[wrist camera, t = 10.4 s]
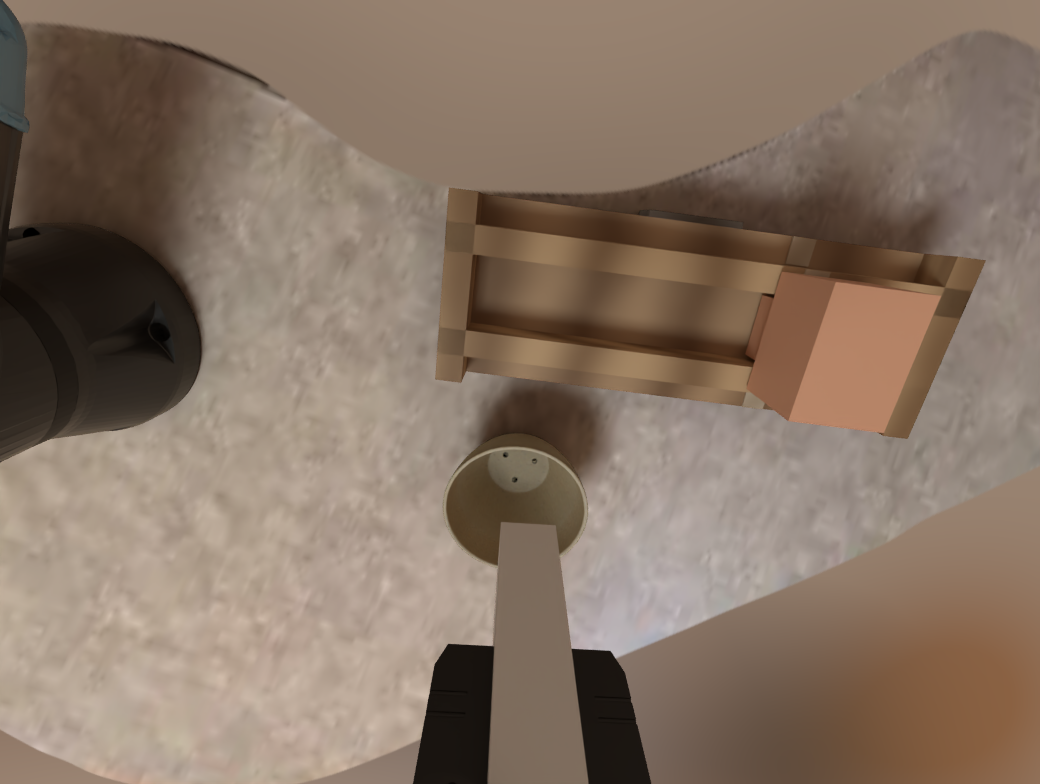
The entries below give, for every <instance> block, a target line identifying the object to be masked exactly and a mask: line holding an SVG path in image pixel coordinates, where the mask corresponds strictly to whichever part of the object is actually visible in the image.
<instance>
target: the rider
mask: <svg viewBox="0 0 1040 784" xmlns="http://www.w3.org/2000/svg"><path fill="white" fill-rule="evenodd" d="M940 298H941V296H938V295H933V294H927V293H921V292H916V291H910V290H905V289H899V288H893V287H888V286H882V285H877V284H871V283H864V282H857V281H849V280H842V279H834V278H827V277H819V276H812V275H805V274H797V273H790V272H782V273H781V276H780V279H779V283H778V286H777V289H776V293H775V296H774V297H773V296H765V295H762V299H761V302H760V305H759V309H758V312H757V316H756V319H755V322H754V326H753V329H752V333H751V336H750V339H749V343H748V346H747V350H746V353H745V355H747V356H749V357H750V358H752V359H754V360H755V362H754V365H753V369H752V372H751V375H750V379H749V382H748V385H747V388H746V389H747V390H749V391H750V392H751V393H752V394H754V395H755V396H756V397H758V398H759V399H760V400H762V401H763V402H764V403H766V404H767V405H768V406H769V407H771V408H772V409H773V410H775V411H776V412H777V413H779V414H780V415H781V416H782V417H784V418H785V419H786V420H788V421H792V422H800V423H808V424H816V425H824V426H832V427H840V428H848V429H856V430H864V431H872V432H880V433H884V432H885V429H886V427H887V424H888V422H889V420H890V417H891V415H892V413H893V410H894V408H895V405H896V403H897V401H898V398H899V396H900V393H901V391H902V389H903V386H904V384H905V381H906V379H907V377H908V374H909V372H910V369H911V367H912V365H913V362H914V360H915V358H916V355H917V353H918V350H919V348H920V346H921V343H922V341H923V338H924V336H925V334H926V331H927V329H928V326H929V324H930V322H931V319H932V317H933V314H934V312H935V310H936V307H937V305H938V303H939V300H940Z"/></svg>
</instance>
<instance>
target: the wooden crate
mask: <svg viewBox="0 0 1040 784" xmlns="http://www.w3.org/2000/svg"><path fill="white" fill-rule="evenodd" d="M742 226H743V222H738V221H730V220H723V219H716V218H708V217H701V216H694V215H686V214H679V213H672V212H664V211H657V210H641V211H640V212H639V215H633V214H626V213H619V212H611V211H604V210H596V209H589V208H582V207H574V206H567V205H560V204H552V203H545V202H538V201H530V200H523V199H516V198H508V197H501V196H493V195H486V194H482V193H480V192H478V191H471V190H463V189H456V188H449V194H448V208H447V222H446V236H445V250H444V264H443V278H442V292H441V307H440V321H439V335H438V349H437V363H436V377H435V379H436V380H444V381H452V382H460V383H461V382H462V379H463V377H464V375H465V372H466V371H468V372H476V373H484V374H492V375H500V376H507V377H515V378H523V379H531V380H539V381H547V382H555V383H563V384H571V385H579V386H587V387H594V388H602V389H610V390H618V391H626V392H634V393H642V394H650V395H658V396H666V397H673V398H681V399H689V400H697V401H705V402H713V403H721V404H729V405H737V406H742V407H748V408H756V409H768V410H773V409H772V408H771V407H769V406H768V405H767V404H766V403H764V402H763V401H762V400H760V399H759V398H758V397H756V396H755V395H754V394H752V393H751V392H750V391H749V390H747V389H746V388H747V385H748V382H749V379H750V375H751V372H752V369H753V365H754V362H755V360H754V359H752V358H750V357H749V356H747V355H745V353H746V350H747V346H748V343H749V339H750V336H751V333H752V329H753V326H754V322H755V319H756V316H757V312H758V309H759V305H760V302H761V299H762V295H765V296H773V297H774V296H775V293H776V289H777V286H778V283H779V279H780V276H781V273H782V272H790V273H797V274H805V275H812V276H819V277H827V278H834V279H842V280H849V281H857V282H864V283H871V284H877V285H882V286H888V287H893V288H899V289H905V290H910V291H916V292H921V293H927V294H933V295H938V296H941V298H940V300H939V303H938V305H937V307H936V310H935V312H934V314H933V317H932V319H931V322H930V324H929V326H928V329H927V331H926V334H925V336H924V338H923V341H922V343H921V346H920V348H919V350H918V353H917V355H916V358H915V360H914V362H913V365H912V367H911V369H910V372H909V374H908V377H907V379H906V381H905V384H904V386H903V389H902V391H901V393H900V396H899V398H898V401H897V403H896V405H895V408H894V410H893V413H892V415H891V417H890V420H889V422H888V424H887V427H886V429H885V432H884V433H880V432H878V433H879V434H881V435H883V436H889V437H897V438H905V439H908V437H909V434H910V432H911V430H912V428H913V425H914V423H915V421H916V419H917V416H918V414H919V412H920V409H921V407H922V405H923V403H924V400H925V398H926V396H927V393H928V391H929V389H930V387H931V384H932V382H933V380H934V377H935V375H936V373H937V371H938V368H939V366H940V364H941V361H942V359H943V357H944V355H945V352H946V350H947V348H948V346H949V343H950V341H951V339H952V336H953V334H954V332H955V330H956V327H957V325H958V323H959V320H960V318H961V316H962V314H963V311H964V309H965V307H966V304H967V302H968V300H969V298H970V295H971V293H972V291H973V288H974V286H975V284H976V282H977V279H978V277H979V275H980V273H981V270H982V268H983V266H984V263H985V261H986V260H978V259H971V258H963V257H955V256H942V255H930V254H920V253H913V252H906V251H898V250H891V249H883V248H876V247H869V246H861V245H854V244H847V243H839V242H832V241H825V240H817V239H811V238H803V237H796V236H788V235H780V234H773V233H766V232H758V231H751V230H744V229H742Z"/></svg>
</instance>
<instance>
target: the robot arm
mask: <svg viewBox="0 0 1040 784" xmlns="http://www.w3.org/2000/svg"><path fill="white" fill-rule="evenodd" d="M26 67H27V43H26V39H25V35H24V32H23V30H22V28H21V25H20V23H19V22H18V20H17V18H16V17H15V15H14V14H13V13H12V11H11V10H10V9H9V7H8V6H7V5H6V4H5V3H4V1H3V0H0V462H2V461H4V460H6V459H8V458H10V457H12V456H14V455H16V454H19V453H21V452H23V451H25V450H27V449H29V448H31V447H33V446H36V445H38V444H40V443H42V442H45V441H47V440H49V439H54V438H61V437H69V436H76V435H83V434H90V433H97V432H103V431H116V430H122V429H127V428H130V427H134V426H137V425H140V424H142V423H145V422H147V421H149V420H151V419H153V418H155V417H157V416H158V415H160V414H162V413H164V412H166V411H168V410H169V409H171V408H172V407H174V406H175V405H176V404H178V403H179V402H180V401H181V400H182V399H183V398H184V396H185V395H186V394H187V393H188V391H189V390H190V388H191V386H192V384H193V382H194V380H195V377H196V374H197V371H198V367H199V360H200V340H199V334H198V329H197V325H196V321H195V318H194V316H193V313H192V310H191V308H190V306H189V304H188V302H187V300H186V298H185V296H184V295H183V293H182V291H181V290H180V288H179V287H178V285H177V284H176V282H175V281H174V280H173V278H172V277H171V276H170V275H169V274H168V273H167V271H166V270H165V269H164V268H163V267H162V266H161V265H160V264H159V263H158V262H157V261H156V260H155V259H154V258H152V257H151V256H150V255H149V254H148V253H146V252H145V251H144V250H142V249H141V248H139V247H138V246H136V245H135V244H133V243H132V242H130V241H128V240H126V239H125V238H123V237H121V236H119V235H116V234H114V233H112V232H109V231H107V230H104V229H101V228H97V227H93V226H89V225H83V224H71V223H42V224H30V225H24V226H19V227H15V228H11V229H9V222H10V215H11V208H12V202H13V195H14V189H15V182H16V176H17V169H18V163H19V156H20V149H21V143H22V136H23V132H26V133H28V130H29V121H28V120H27V119H26V117H25V116H24V108H25V80H26ZM413 784H651V780H650V776H649V772H648V768H647V764H646V760H645V755H644V751H643V747H642V743H641V738H640V734H639V731H638V726H637V724H636V717H635V713H634V709H633V705H632V703H631V696H630V692H629V688H628V684H627V680H626V675H625V672H624V671H623V669H622V668H621V666H620V665H619V663H618V662H617V660H616V659H615V657H614V656H613V654H612V653H611V651H602V650H583V649H571V642H570V634H569V626H568V618H567V610H566V602H565V594H564V587H563V579H562V571H561V563H560V555H559V547H558V540H557V532H556V525H542V524H525V523H509V522H501V529H500V542H499V556H498V569H497V582H496V595H495V612H494V630H493V646H479V645H459V644H448V645H447V646H446V648H445V650H444V651H443V653H442V654H441V656H440V657H439V659H438V660H437V662H436V663H435V666H434V671H433V677H432V682H431V688H430V695H429V699H428V704H427V710H426V716H425V721H424V726H423V732H422V737H421V743H420V748H419V754H418V760H417V765H416V771H415V776H414V782H413Z"/></svg>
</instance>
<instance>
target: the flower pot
mask: <svg viewBox="0 0 1040 784" xmlns="http://www.w3.org/2000/svg"><path fill="white" fill-rule="evenodd" d="M503 454H505V455H506V456H507V457H504V456H503ZM533 459H535V460H533ZM515 478H517V481H516V480H515ZM443 514H444V519H445V523H446V526H447V528H448V530H449V532H450V534H451V536H452V538H453V539H454V540H455V542H456V543H457V544H458V546H459V547H460V548H461V549H462V550H463V551H465V552H466V553H467V554H468V555H470V556H471V557H472V558H474V559H476V560H478V561H480V562H482V563H484V564H486V565H489V566H492V567H495V568H498V556H499V542H500V529H501V522H509V523H525V524H542V525H556V532H557V540H558V547H559V555H560V558H561V557H562V556H564V555H565V554H566V553H567V552H569V551H570V550H571V549H572V548H573V546H574V545H575V544H576V543H577V542H578V540H579V539H580V537H581V535H582V533H583V531H584V529H585V526H586V522H587V517H588V503H587V497H586V494H585V491H584V488H583V486H582V483H581V481H580V479H579V477H578V475H577V473H576V472H575V470H574V468H573V467H572V466H571V464H570V463H569V462H568V460H567V459H566V458H565V457H564V456H563V455H562V454H561V453H560V452H559V451H558V450H557V449H556V448H555V447H554V446H552V445H551V444H549V443H548V442H546V441H544V440H542V439H540V438H538V437H535V436H532V435H528V434H521V433H512V434H505V435H501V436H498V437H495V438H493V439H491V440H489V441H487V442H485V443H483V444H482V445H480V446H479V447H477V448H476V449H475V450H474V451H473V452H472V453H470V454H469V455H468V456H467V457H466V458H465V460H464V461H463V462H462V463H461V464H460V466H459V467H458V468H457V470H456V471H455V473H454V474H453V476H452V478H451V479H450V481H449V483H448V485H447V488H446V491H445V494H444V500H443Z"/></svg>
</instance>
